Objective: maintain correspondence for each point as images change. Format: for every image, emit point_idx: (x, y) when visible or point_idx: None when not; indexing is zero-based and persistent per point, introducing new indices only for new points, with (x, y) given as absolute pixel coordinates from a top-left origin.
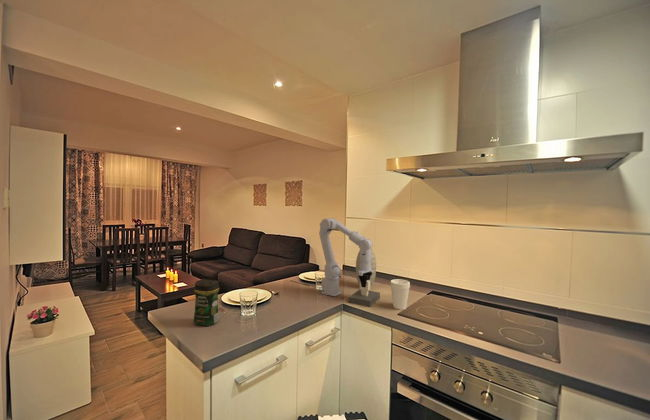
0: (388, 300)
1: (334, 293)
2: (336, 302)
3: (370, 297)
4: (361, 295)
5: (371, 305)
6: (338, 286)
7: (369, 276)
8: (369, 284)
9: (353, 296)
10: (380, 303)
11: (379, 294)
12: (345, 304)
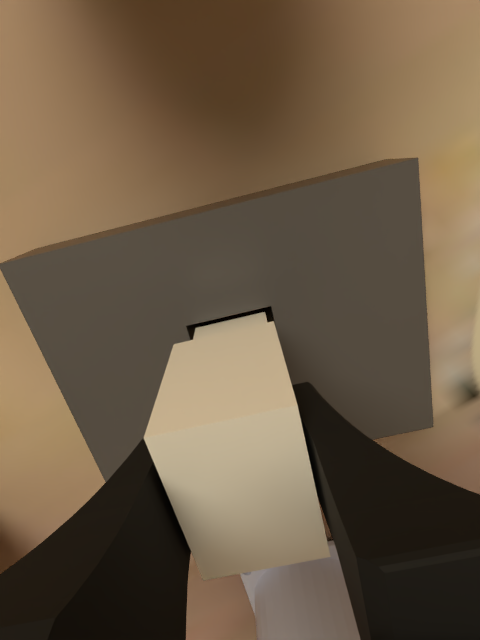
0: (13, 113)
1: (341, 570)
2: (468, 456)
3: (281, 242)
4: (294, 363)
5: (337, 172)
6: (300, 630)
7: (120, 550)
8: (203, 381)
9: (388, 402)
10: (191, 132)
11: (34, 253)
12: (469, 381)
